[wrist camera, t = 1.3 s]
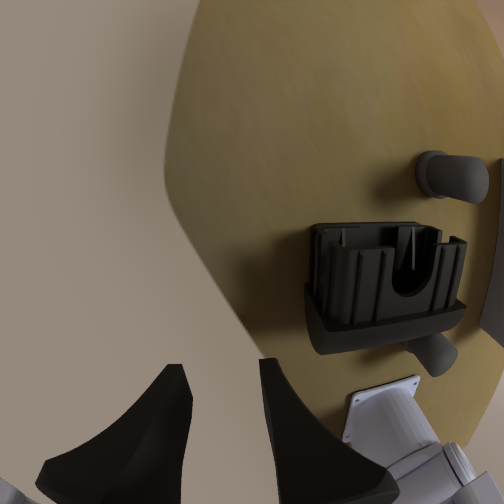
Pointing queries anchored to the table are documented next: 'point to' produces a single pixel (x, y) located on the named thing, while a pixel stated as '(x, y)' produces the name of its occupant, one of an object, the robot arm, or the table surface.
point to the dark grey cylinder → (433, 352)
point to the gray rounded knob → (452, 176)
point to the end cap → (380, 284)
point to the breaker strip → (496, 283)
